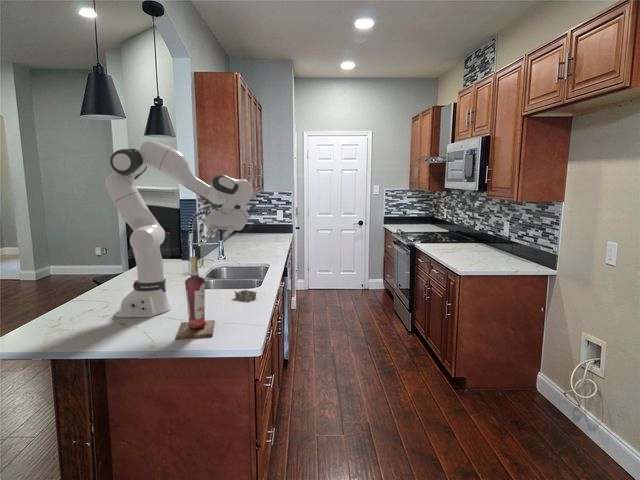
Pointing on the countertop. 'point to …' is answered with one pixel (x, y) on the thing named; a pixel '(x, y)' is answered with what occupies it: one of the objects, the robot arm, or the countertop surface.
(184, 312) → the countertop surface
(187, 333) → the serving board
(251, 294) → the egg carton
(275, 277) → the countertop surface
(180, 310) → the countertop surface
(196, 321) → the liquor
